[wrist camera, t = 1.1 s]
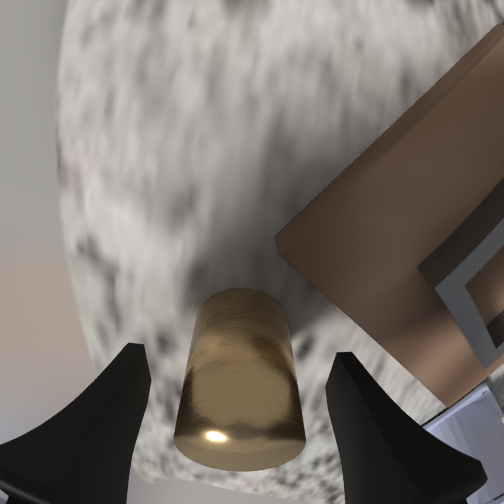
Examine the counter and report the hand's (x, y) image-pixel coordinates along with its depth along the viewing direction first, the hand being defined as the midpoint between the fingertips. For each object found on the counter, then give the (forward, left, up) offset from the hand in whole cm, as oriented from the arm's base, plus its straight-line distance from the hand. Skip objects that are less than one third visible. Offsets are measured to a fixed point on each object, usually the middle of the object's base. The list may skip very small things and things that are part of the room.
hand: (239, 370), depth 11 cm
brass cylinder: (0, 0, -3) cm, 3 cm away
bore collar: (-6, -11, -1) cm, 13 cm away
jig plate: (-6, -11, -3) cm, 13 cm away
